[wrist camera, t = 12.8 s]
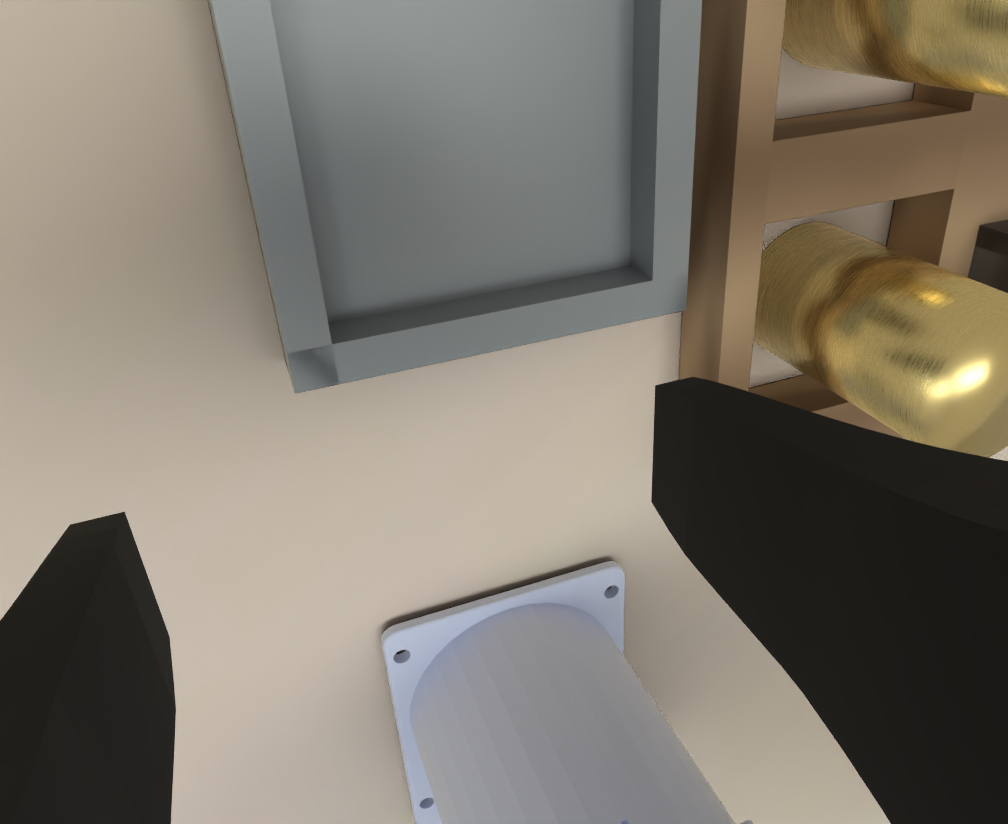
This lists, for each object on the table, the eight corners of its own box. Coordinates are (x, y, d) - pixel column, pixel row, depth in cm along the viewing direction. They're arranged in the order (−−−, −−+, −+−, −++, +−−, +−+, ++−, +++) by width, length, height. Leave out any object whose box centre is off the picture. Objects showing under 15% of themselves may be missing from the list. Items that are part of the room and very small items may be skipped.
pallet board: (1017, 369, 30) (1124, 420, 26) (674, 461, 26) (749, 534, 23) (1194, -268, 21) (1389, -311, 17) (710, -268, 17) (842, -325, 14)
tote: (651, 287, 23) (686, 310, 21) (285, 361, 20) (295, 393, 19) (668, -268, 17) (717, -291, 15) (150, -269, 14) (148, -296, 13)
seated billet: (845, 336, 26) (1040, 442, 20) (736, 362, 25) (909, 482, 19) (865, 212, 24) (1086, 290, 18) (747, 234, 23) (943, 324, 17)
